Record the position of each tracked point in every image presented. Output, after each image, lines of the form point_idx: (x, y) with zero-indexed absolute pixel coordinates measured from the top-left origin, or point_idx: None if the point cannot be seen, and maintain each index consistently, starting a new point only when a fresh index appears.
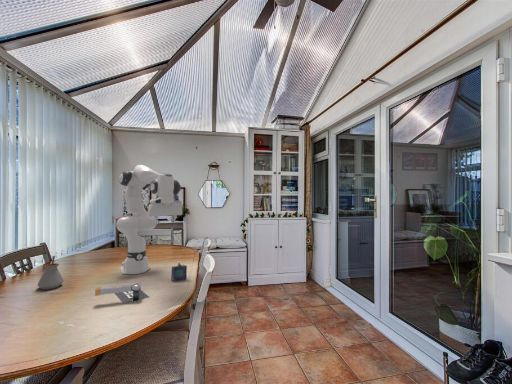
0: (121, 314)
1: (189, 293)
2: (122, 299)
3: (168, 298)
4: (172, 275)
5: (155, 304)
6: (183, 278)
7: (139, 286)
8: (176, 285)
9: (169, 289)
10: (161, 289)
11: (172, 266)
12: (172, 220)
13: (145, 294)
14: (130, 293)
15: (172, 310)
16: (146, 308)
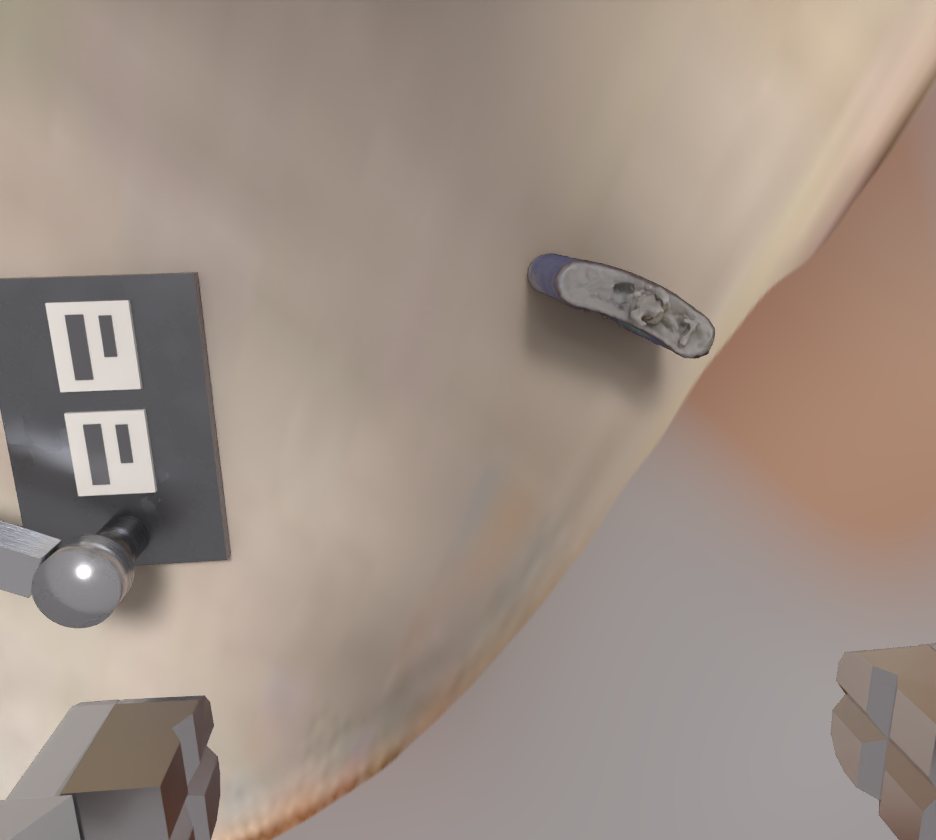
0: (11, 673)
1: (515, 632)
2: (30, 475)
3: (352, 623)
4: (542, 288)
5: (242, 661)
6: (630, 329)
7: (102, 618)
8: (513, 414)
9: (427, 463)
10: (372, 420)
11: (570, 274)
12: (905, 830)
13: (212, 489)
14: (105, 389)
15: (306, 798)
16: (173, 683)
